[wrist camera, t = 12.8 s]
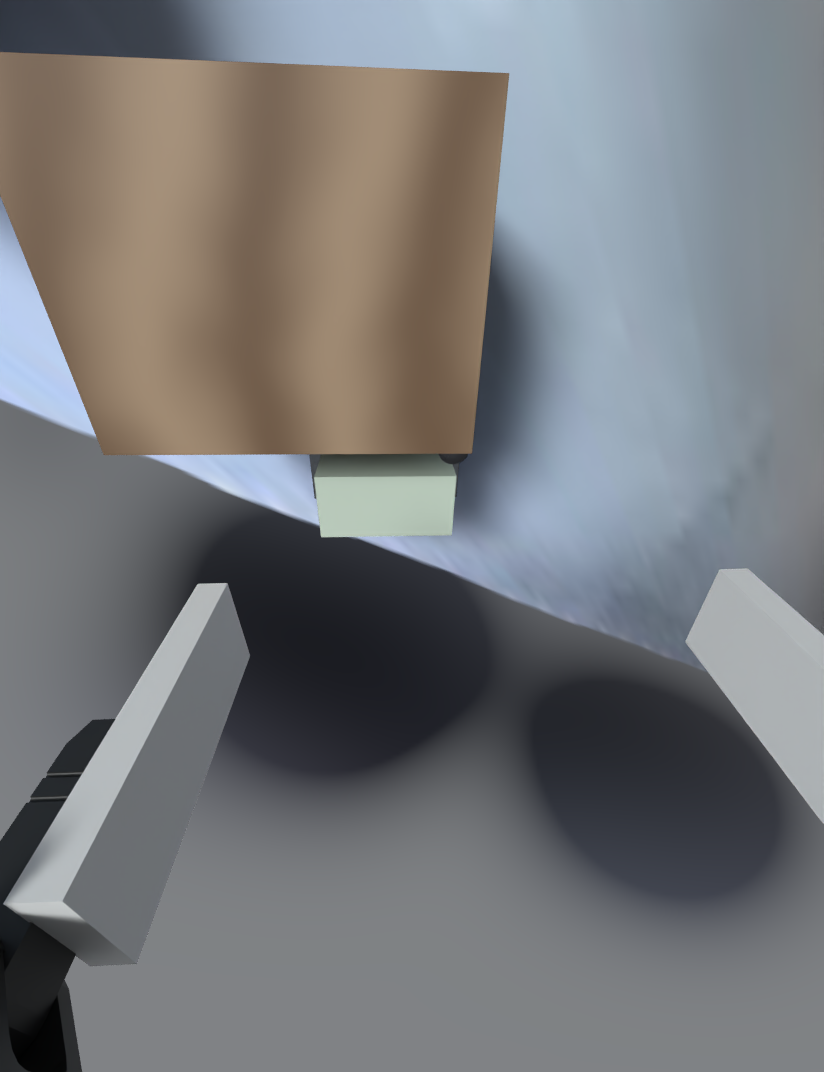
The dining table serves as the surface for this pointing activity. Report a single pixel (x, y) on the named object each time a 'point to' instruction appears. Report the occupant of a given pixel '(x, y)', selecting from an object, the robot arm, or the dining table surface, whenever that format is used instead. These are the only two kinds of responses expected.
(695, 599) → the dining table surface
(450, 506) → the pale green block
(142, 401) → the wood-grain box
